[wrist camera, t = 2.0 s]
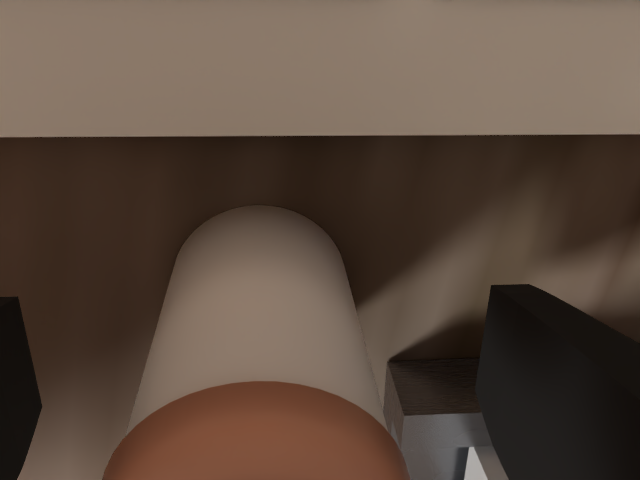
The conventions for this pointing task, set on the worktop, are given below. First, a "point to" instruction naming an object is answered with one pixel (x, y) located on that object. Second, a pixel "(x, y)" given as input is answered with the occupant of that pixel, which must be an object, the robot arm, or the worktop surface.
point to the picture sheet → (318, 67)
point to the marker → (258, 364)
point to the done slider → (484, 464)
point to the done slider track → (434, 415)
